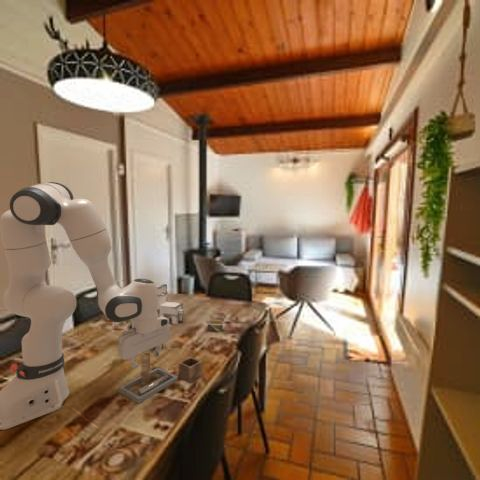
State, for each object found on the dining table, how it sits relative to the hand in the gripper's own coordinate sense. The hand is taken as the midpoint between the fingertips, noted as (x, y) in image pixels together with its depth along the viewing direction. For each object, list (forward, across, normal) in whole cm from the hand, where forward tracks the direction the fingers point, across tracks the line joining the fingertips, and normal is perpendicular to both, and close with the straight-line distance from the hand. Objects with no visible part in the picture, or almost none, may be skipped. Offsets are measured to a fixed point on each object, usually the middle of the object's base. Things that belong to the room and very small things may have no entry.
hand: (145, 361), depth 112 cm
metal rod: (+9, 0, -5) cm, 10 cm away
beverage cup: (+10, +22, +21) cm, 32 cm away
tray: (+9, 0, -2) cm, 9 cm away
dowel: (+9, 0, 0) cm, 9 cm away
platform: (+10, +53, +13) cm, 55 cm away
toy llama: (+10, +48, +42) cm, 64 cm away
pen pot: (+9, +13, -9) cm, 18 cm away
